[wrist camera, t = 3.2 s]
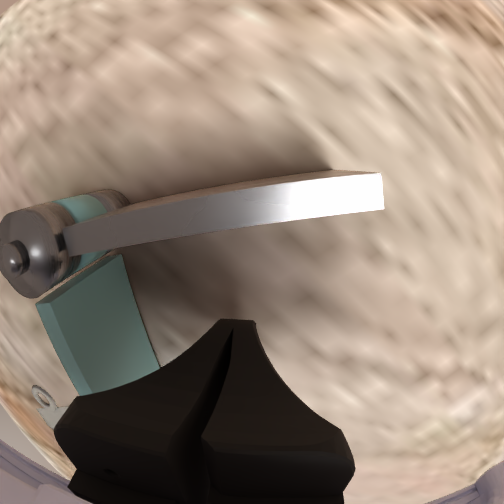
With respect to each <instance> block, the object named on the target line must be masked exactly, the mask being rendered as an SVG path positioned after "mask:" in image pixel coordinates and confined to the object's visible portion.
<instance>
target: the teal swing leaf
mask: <svg viewBox="0 0 504 504" xmlns="http://www.w3.org/2000/svg"><path fill="white" fill-rule="evenodd" d="M52 202H53V203H57V204H59V205H61V206H63V207H64V208H65V209H66V210H67V211H68V212H69V213H70V214H71V216H72V217H73V219H74V221H75V223H78V222H81V221H84V220H86V219H89V218H92V217H95V216H98V215H101V214H104V213H107V210H106V209H105V207H104V206H103V204H102V203H101V202H100V201H99V200H97V199H96V198H95V197H92V196H90V195H78V196H73V197H69V198H65V199H60V200H56V201H52ZM106 251H107V250H102V251H97V252H92V253H86V254H81V260H80V263H79V266H78V268H77V270H76V271H75V272H74V273H76V272H77V271H79V270H81V269H82V268H84V267H85V266H87V265H89V264H90V263H92V262H94V261H95V260H97V259H98V258H100V257H102V256H103V255H104V254H105V253H106ZM74 273H73V274H74ZM35 305H36V307H37V310H38V312H39V315H40V317H41V320H42V322H43V324H44V327H45V329H46V331H47V334H48V336H49V338H50V340H51V342H52V344H53V347H54V349H55V351H56V353H57V355H58V357H59V359H60V361H61V363H62V365H63V366H64V368H65V370H66V372H67V374H68V376H69V378H70V379H71V381H72V383H73V385H74V386H75V388H76V390H77V391H78V393H79V395H80V396H83V395H88V394H92V393H97V392H101V391H105V390H109V389H112V388H115V387H119V386H122V385H124V384H127V383H130V382H132V381H135V380H137V379H139V378H141V377H144V376H146V375H148V374H150V373H152V372H154V371H156V370H158V369H160V367H159V365H158V362H157V360H156V357H155V355H154V352H153V350H152V347H151V345H150V342H149V339H148V337H147V334H146V331H145V328H144V325H143V323H142V320H141V317H140V314H139V311H138V308H137V305H136V302H135V299H134V296H133V292H132V289H131V286H130V283H129V279H128V276H127V272H126V269H125V265H124V262H123V258H122V254H119V255H113V256H107V257H106V258H104V259H102V260H101V261H99V262H97V263H96V264H94V265H93V266H91V267H90V268H88V269H86V270H85V271H83V272H82V273H80V274H79V275H77V276H76V277H74V278H73V279H71V280H70V281H68V282H66V283H65V284H63V285H62V286H60V287H59V288H58V289H56V290H55V291H53V292H52V293H50V294H49V295H47V296H46V297H44V298H43V299H42V300H40V301H39V302H37V303H36V304H35Z"/></svg>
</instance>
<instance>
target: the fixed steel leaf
mask: <svg viewBox="0 0 504 504" xmlns="http://www.w3.org/2000/svg"><path fill="white" fill-rule="evenodd" d="M83 195H90V196H92V197H95V198H96V199H97V200H99V201H100V202H101V203H102V204H103V206H104V207H105V209H106V210H107V213H104V214H101V215H98V216H95V217H92V218H89V219H86V220H84V221H81V222H78V223H75V221H74V219H73V217H72V216H71V214H70V213H69V212H68V211H67V210H66V209H65V208H64V207H63V206H61V205H59V204H57V203H53V202H48V203H44V204H40V205H36V206H33V207H29V208H25V209H22V210H18V211H14V212H11V213H9V214H7V215H6V216H5V217H4V218H3V219H2V221H1V223H0V271H1V273H2V274H3V276H4V277H5V278H6V279H7V280H8V281H9V283H10V284H11V286H12V287H13V288H14V289H15V290H16V291H17V292H18V293H19V294H21V295H22V296H24V297H27V298H37V297H39V296H41V295H42V294H44V293H45V292H47V291H48V290H50V289H51V288H53V287H54V286H56V285H57V284H59V283H60V282H62V281H63V280H65V279H66V278H68V277H70V276H71V275H72V274H73V273H74V272H75V271H76V270H77V268H78V266H79V263H80V260H81V254H86V253H92V252H97V251H102V250H107V251H106V253H105V254H107V253H108V252H110V251H112V250H114V249H115V248H119V247H125V246H130V245H136V244H142V243H148V242H154V241H160V240H166V239H172V238H178V237H184V236H190V235H197V234H203V233H209V232H216V231H222V230H229V229H236V228H242V227H249V226H256V225H263V224H270V223H277V222H284V221H292V220H299V219H307V218H314V217H322V216H330V215H338V214H346V213H354V212H363V211H371V210H380V209H384V199H383V187H382V178H381V173H375V172H362V171H346V170H327V171H318V172H309V173H301V174H293V175H286V176H278V177H271V178H264V179H258V180H251V181H245V182H239V183H233V184H227V185H221V186H216V187H210V188H205V189H199V190H194V191H189V192H184V193H179V194H174V195H169V196H165V197H160V198H156V199H151V200H147V201H142V202H138V203H135V204H131V205H130V203H129V202H128V200H127V199H126V198H125V197H124V196H123V195H122V194H121V193H119V192H117V191H115V190H102V191H97V192H92V193H87V194H83ZM105 254H104V255H105Z"/></svg>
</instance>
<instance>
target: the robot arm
mask: <svg viewBox="0 0 504 504" xmlns="http://www.w3.org/2000/svg"><path fill="white" fill-rule="evenodd" d="M54 435H55V438H56V440H57V442H58V444H59V446H60V447H61V448H62V450H63V451H64V453H65V454H66V455H67V457H68V458H69V459H70V461H71V462H72V463H73V464H74V466H75V467H76V468H77V470H76V472H75V473H74V475H73V477H72V479H71V481H69V480H67V479H65V478H63V477H61V476H59V475H57V474H56V473H54V472H52V471H50V470H48V469H46V468H44V467H43V466H41V465H39V464H37V463H36V462H34V461H32V460H31V459H29V458H27V457H26V456H24V455H23V454H21V453H20V452H18V451H17V450H15V449H14V448H12V447H10V446H9V445H8V444H6V443H5V442H3V441H2V440H1V439H0V504H344V498H343V491H344V490H345V488H346V487H347V485H348V483H349V482H350V480H351V479H352V477H353V475H354V472H355V463H354V459H353V455H352V453H351V450H350V448H349V445H348V443H347V441H346V438H345V436H344V434H343V432H342V431H341V429H339V428H338V427H336V426H334V425H333V424H331V423H330V422H328V421H327V420H325V419H324V418H322V417H320V416H319V415H318V414H316V413H315V412H314V411H313V410H311V409H310V408H309V407H308V406H307V405H306V404H305V403H304V402H303V401H302V400H300V399H299V398H298V397H297V396H296V395H295V394H294V393H293V392H292V391H291V389H290V388H289V387H288V386H287V385H286V384H285V382H284V381H283V380H282V378H281V377H280V376H279V374H278V373H277V372H276V370H275V369H274V367H273V365H272V364H271V362H270V360H269V359H268V357H267V355H266V353H265V351H264V349H263V346H262V344H261V342H260V339H259V336H258V333H257V329H256V323H255V322H254V321H253V320H236V319H220V320H219V321H217V322H216V323H215V324H214V325H213V326H212V327H211V328H210V329H209V330H208V331H207V332H206V333H205V334H204V335H203V336H202V337H201V338H200V339H199V340H198V341H197V342H196V343H195V344H193V345H192V346H191V347H190V348H189V349H187V350H186V351H185V352H184V353H182V354H181V355H180V356H178V357H177V358H176V359H174V360H173V361H171V362H170V363H168V364H166V365H165V366H163V367H161V368H160V369H158V370H156V371H154V372H152V373H150V374H148V375H146V376H144V377H141V378H139V379H137V380H135V381H132V382H130V383H127V384H124V385H122V386H119V387H115V388H112V389H109V390H105V391H101V392H97V393H92V394H88V395H83V396H77V397H76V398H75V399H74V400H73V402H72V403H71V404H70V406H69V407H68V408H67V410H66V411H65V413H64V414H63V415H62V417H61V418H60V420H59V421H58V422H57V424H56V425H55V427H54ZM425 504H504V461H502V462H500V463H498V464H497V465H495V466H493V467H491V468H490V469H489V470H487V471H486V472H485V473H484V474H482V475H481V476H480V477H479V479H478V480H477V481H476V482H475V483H474V484H472V485H470V486H468V487H465V488H463V489H461V490H459V491H456V492H454V493H452V494H449V495H447V496H444V497H441V498H439V499H436V500H433V501H431V502H428V503H425Z"/></svg>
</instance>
